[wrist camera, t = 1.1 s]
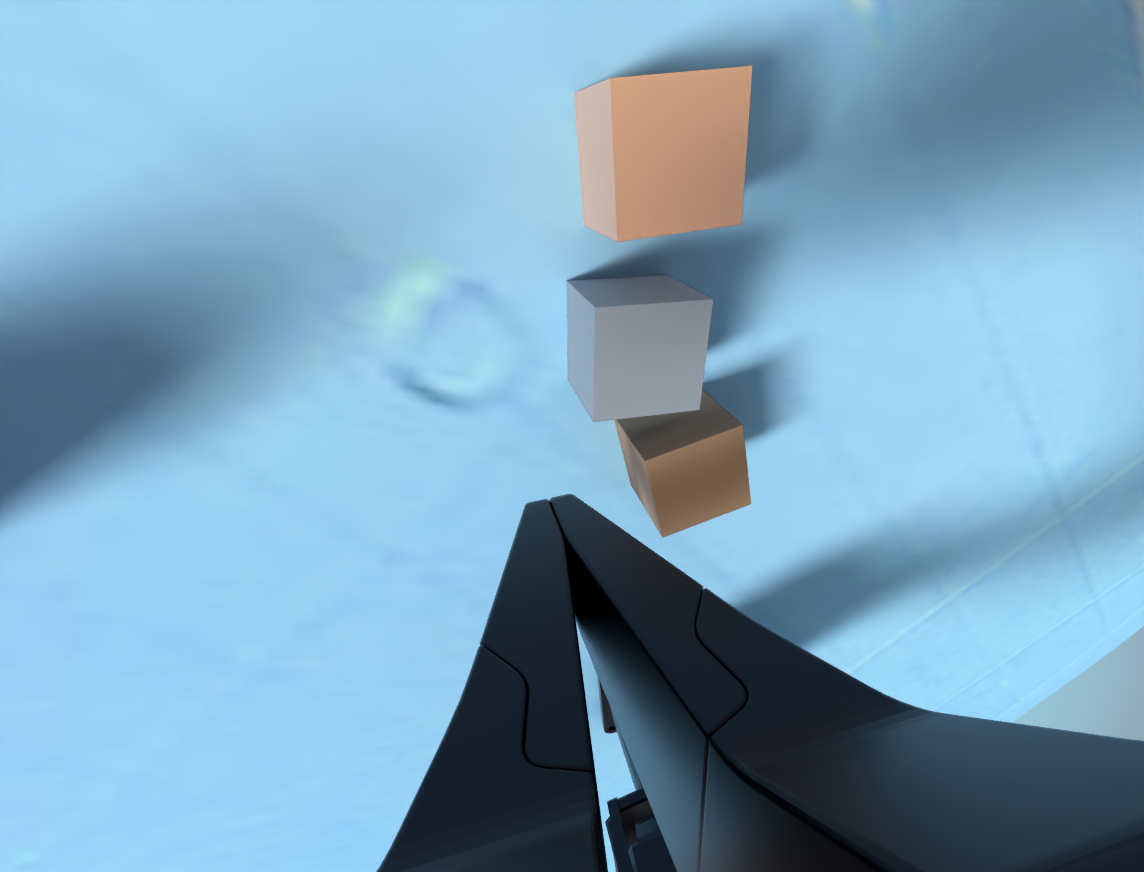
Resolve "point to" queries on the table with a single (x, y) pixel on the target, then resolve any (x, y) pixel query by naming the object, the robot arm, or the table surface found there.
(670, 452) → the walnut cube
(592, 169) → the terracotta block
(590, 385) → the slate block
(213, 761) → the table surface
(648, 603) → the robot arm
